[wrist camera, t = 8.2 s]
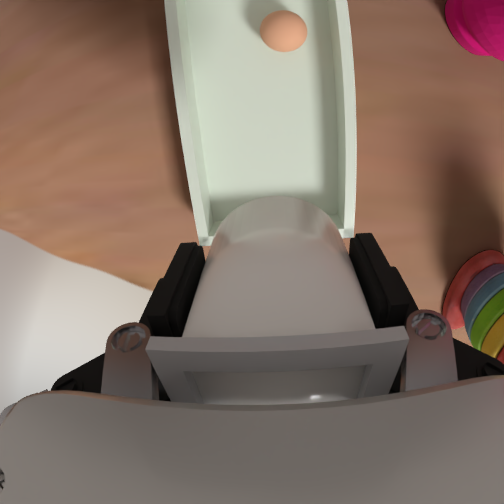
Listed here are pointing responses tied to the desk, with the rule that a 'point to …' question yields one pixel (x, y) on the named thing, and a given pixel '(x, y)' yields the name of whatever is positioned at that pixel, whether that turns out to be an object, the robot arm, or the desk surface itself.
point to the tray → (264, 108)
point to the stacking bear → (479, 302)
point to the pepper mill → (477, 25)
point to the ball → (283, 31)
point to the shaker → (278, 317)
